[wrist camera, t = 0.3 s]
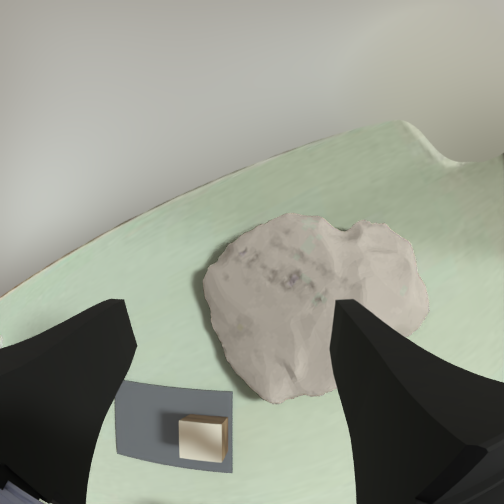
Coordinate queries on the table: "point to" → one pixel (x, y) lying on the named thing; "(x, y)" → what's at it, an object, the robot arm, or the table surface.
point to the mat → (166, 422)
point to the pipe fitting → (1, 342)
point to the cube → (203, 437)
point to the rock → (306, 297)
